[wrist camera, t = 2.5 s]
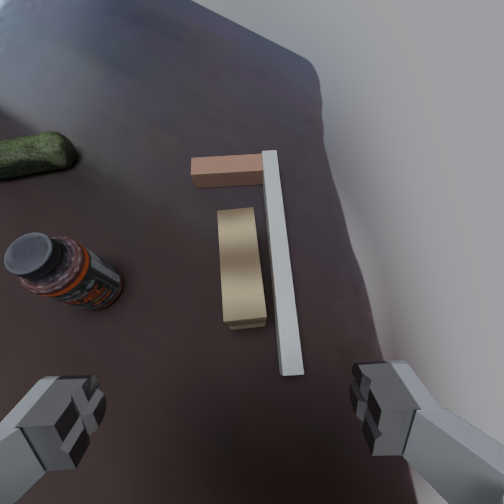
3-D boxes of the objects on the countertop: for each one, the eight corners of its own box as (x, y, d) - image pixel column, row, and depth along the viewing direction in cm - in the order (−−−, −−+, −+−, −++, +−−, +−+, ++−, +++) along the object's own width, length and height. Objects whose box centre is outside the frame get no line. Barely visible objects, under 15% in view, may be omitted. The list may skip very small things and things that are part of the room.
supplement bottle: (90, 321, 30) (2, 301, 20) (69, 285, 32) (-22, 250, 22) (133, 289, 32) (73, 255, 21) (111, 256, 34) (45, 210, 23)
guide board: (298, 372, 28) (304, 374, 24) (188, 379, 28) (177, 382, 24) (274, 167, 39) (276, 147, 35) (196, 172, 39) (189, 152, 35)
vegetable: (82, 146, 42) (61, 120, 37) (81, 170, 40) (58, 145, 35) (-5, 162, 41) (-39, 137, 36) (-11, 188, 39) (-47, 165, 34)
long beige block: (265, 326, 30) (266, 316, 23) (231, 330, 30) (223, 321, 23) (254, 235, 35) (253, 207, 28) (224, 238, 34) (217, 210, 28)
